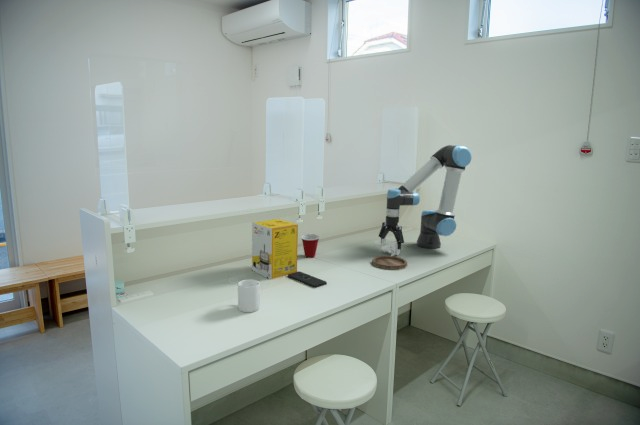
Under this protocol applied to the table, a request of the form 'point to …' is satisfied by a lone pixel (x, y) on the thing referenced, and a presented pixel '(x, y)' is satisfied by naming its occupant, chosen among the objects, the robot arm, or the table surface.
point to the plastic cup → (310, 244)
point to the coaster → (389, 262)
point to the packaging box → (274, 248)
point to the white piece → (390, 247)
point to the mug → (249, 295)
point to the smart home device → (307, 279)
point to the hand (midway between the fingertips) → (390, 251)
